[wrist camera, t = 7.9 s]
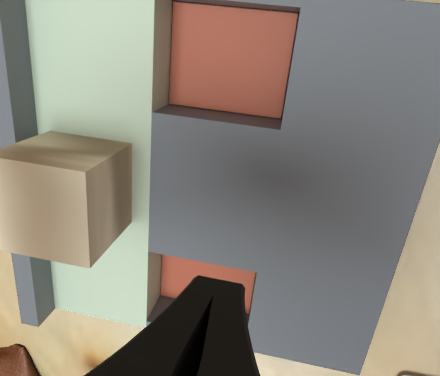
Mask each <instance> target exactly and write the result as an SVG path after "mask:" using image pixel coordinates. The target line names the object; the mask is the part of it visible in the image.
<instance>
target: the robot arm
mask: <svg viewBox="0 0 440 376" xmlns="http://www.w3.org/2000/svg"><path fill="white" fill-rule="evenodd" d="M84 376H260V374H259V370H258V367H257V364H256V360H255V356H254V352H253V348H252V343H251V339H250V334H249V330H248V324H247V317H246V310H245V287H244V286H243V284H241V283H236V282H231V281H225V280H220V279H215V278H210V277H205V276H200V275H198V276H196V277H194V278H193V279H192V281H191V282H190V283H189V284H188V285H187V287H186V288H185V289H184V290H183V291H182V292H181V293H180V294H179V295H178V296H177V297H176V298H175V300H174V301H173V302H172V303H171V304H170V305H169V306H168V307H167V308H166V309H165V310H164V311H162V312H161V313H160V314H159V315H158V316H157V317H156V318H155V319H154V320H153V321H152V322H151V323H150V324H149V325H148V326H147V327H145V328H144V329H143V330H142V331H141V332H140V333H138V334H137V335H136V336H135V337H134V338H133V339H131V340H130V341H129V342H128V343H127V344H126V345H124V346H123V347H122V348H121V349H119V350H118V351H117V352H116V353H114V354H113V355H112V356H110V357H109V358H108V359H106V360H105V361H104V362H102V363H101V364H100V365H98V366H97V367H96V368H94V369H93V370H91V371H90V372H89V373H87V374H86V375H84ZM402 376H411V375H402Z"/></svg>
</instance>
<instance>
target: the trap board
mask: <svg viewBox="0 0 440 376" xmlns="http://www.w3.org/2000/svg"><path fill="white" fill-rule="evenodd" d="M174 1H178V2H174ZM181 2H188V3H181ZM191 3H199V4H191ZM202 4H209V5H202ZM212 5H220V6H212ZM223 6H230V7H223ZM233 7H241V8H233ZM244 8H251V9H244ZM254 9H262V10H254ZM265 10H273V11H265ZM275 11H283V12H275ZM286 12H294V13H286ZM296 13H299V18H298V24H297V30H296V36H295V29H296V23H297V17H298V14H296ZM294 36H295V43H294V49H293V55H292V61H291V67H290V73H289V79H288V85H287V91H286V97H285V103H284V96H285V90H286V84H287V78H288V72H289V66H290V60H291V54H292V48H293V42H294ZM283 103H284V109H283ZM282 109H283V115H282ZM281 115H282V119H281ZM48 131H54V132H61V133H68V134H74V135H81V136H87V137H94V138H101V139H107V140H114V141H120V142H127V143H132V222H131V224H130V225H129V226H128V227H127V228H126V229H125V230H124V231H123V232H122V234H121V235H120V236H119V237H118V238H117V239H116V240H115V241H114V242H113V244H112V245H111V246H110V247H109V248H108V249H107V250H106V251H105V252H104V254H103V255H102V256H101V257H100V258H99V259H98V260H97V261H96V262H95V264H94V265H93V266H92V267H91V268H90V269H89V268H84V267H79V266H74V265H69V264H64V263H59V262H54V261H49V260H45V259H40V258H35V257H30V256H25V255H20V254H15V253H11V255H12V262H13V268H14V275H15V282H16V289H17V296H18V303H19V309H20V316H21V323H24V324H28V325H32V326H37V327H39V326H40V325H41V323H42V322H43V321H44V320H45V319H46V318H47V317H48V316H49V314H50V313H51V312H52V311H53V310H54V309H55V308H56V309H61V310H65V311H70V312H74V313H79V314H84V315H88V316H93V317H97V318H102V319H106V320H111V321H115V322H120V323H124V324H129V325H133V326H138V327H143V328H145V327H147V326H148V325H149V324H150V323H151V322H152V321H153V320H154V319H155V318H156V317H157V316H158V315H159V314H160V313H161V312H162V311H164V310H165V309H166V308H167V307H168V306H169V305H170V304H171V303H172V302H173V301H174V300H175V298H176V297H177V296H178V295H179V294H180V293H181V292H182V291H183V290H184V289H185V288H186V287H187V285H188V284H189V283H190V282H191V281H192V279H193V278H194V277H196V276H198V275H200V276H205V277H210V278H215V279H220V280H225V281H231V282H236V283H241V284H243V286H244V287H245V310H246V317H247V324H248V330H249V334H250V339H251V343H252V348H253V352H256V353H261V354H265V355H270V356H274V357H279V358H283V359H288V360H292V361H297V362H301V363H306V364H310V365H315V366H320V367H324V368H329V369H333V370H338V371H342V372H347V373H351V374H356V375H360V372H361V369H362V366H363V364H364V361H365V358H366V355H367V352H368V349H369V346H370V343H371V340H372V337H373V334H374V331H375V328H376V326H377V323H378V320H379V317H380V314H381V311H382V308H383V305H384V302H385V299H386V296H387V293H388V291H389V288H390V285H391V282H392V279H393V276H394V273H395V270H396V267H397V264H398V261H399V258H400V256H401V253H402V250H403V247H404V244H405V241H406V238H407V235H408V232H409V229H410V226H411V223H412V220H413V218H414V215H415V212H416V209H417V206H418V203H419V200H420V197H421V194H422V191H423V188H424V185H425V183H426V180H427V177H428V174H429V171H430V168H431V165H432V162H433V159H434V156H435V153H436V150H437V148H438V145H439V142H440V4H438V3H426V2H415V1H403V0H0V148H3V147H6V146H9V145H11V144H14V143H17V142H20V141H23V140H26V139H28V138H31V137H34V136H37V135H40V134H42V133H45V132H48ZM256 272H257V273H256ZM255 273H256V279H255ZM254 279H255V285H254ZM253 285H254V291H253ZM252 292H253V297H252ZM251 298H252V303H251ZM250 304H251V309H250ZM249 310H250V311H249Z"/></svg>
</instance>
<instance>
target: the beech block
mask: <svg viewBox="0 0 440 376" xmlns="http://www.w3.org/2000/svg"><path fill="white" fill-rule="evenodd" d="M131 222H132V143H127V142H120V141H114V140H107V139H101V138H94V137H87V136H81V135H74V134H68V133H61V132H54V131H48V132H45V133H42V134H40V135H37V136H34V137H31V138H28V139H26V140H23V141H20V142H17V143H14V144H11V145H9V146H6V147H3V148H0V251H5V252H10V253H15V254H20V255H25V256H30V257H35V258H40V259H45V260H49V261H54V262H59V263H64V264H69V265H74V266H79V267H84V268H89V269H90V268H91V267H92V266H93V265H94V264H95V262H96V261H97V260H98V259H99V258H100V257H101V256H102V255H103V254H104V252H105V251H106V250H107V249H108V248H109V247H110V246H111V245H112V244H113V242H114V241H115V240H116V239H117V238H118V237H119V236H120V235H121V234H122V232H123V231H124V230H125V229H126V228H127V227H128V226H129V225H130V224H131Z"/></svg>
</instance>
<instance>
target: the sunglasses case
mask: <svg viewBox="0 0 440 376" xmlns="http://www.w3.org/2000/svg"><path fill="white" fill-rule="evenodd" d="M0 376H40V375H39V373H38V371H37V369H36V368H35V366H34V364H33V360H32V358H31V356H30V355H29V353H28V352H27V351H26V349H25V347H24V346H21V345H20V344H14V345H11V346H9V347H2V348H0Z"/></svg>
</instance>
